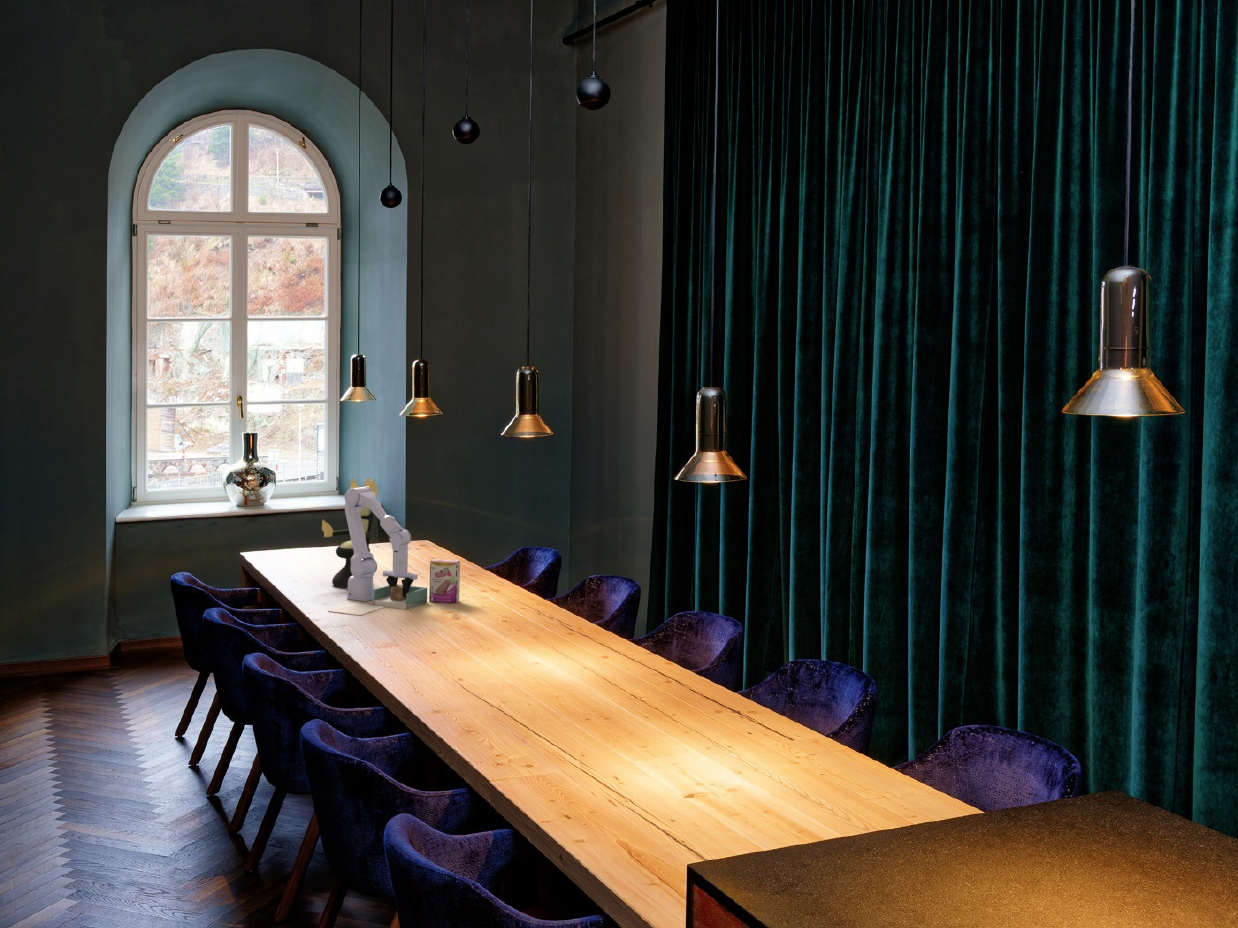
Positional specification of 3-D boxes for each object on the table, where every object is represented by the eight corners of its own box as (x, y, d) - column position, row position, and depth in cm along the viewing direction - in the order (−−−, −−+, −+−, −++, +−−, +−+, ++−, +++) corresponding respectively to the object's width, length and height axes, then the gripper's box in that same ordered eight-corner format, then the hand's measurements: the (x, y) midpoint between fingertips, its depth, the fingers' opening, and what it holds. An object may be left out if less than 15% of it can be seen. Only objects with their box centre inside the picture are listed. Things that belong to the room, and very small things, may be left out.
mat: (328, 611, 444) (328, 610, 444) (353, 603, 459) (353, 602, 459) (359, 615, 439) (359, 614, 439) (384, 607, 454) (384, 606, 454)
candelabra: (319, 586, 491) (320, 477, 487) (351, 577, 512) (352, 473, 508) (358, 591, 484) (359, 480, 480) (388, 582, 505) (390, 476, 500)
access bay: (373, 605, 458) (373, 589, 458) (392, 598, 471) (393, 583, 470) (408, 609, 452) (408, 593, 452) (427, 602, 465) (427, 587, 465)
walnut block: (390, 599, 459) (390, 587, 459) (399, 597, 465) (399, 584, 464) (400, 601, 457) (400, 588, 457) (408, 598, 463) (409, 585, 463)
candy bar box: (428, 602, 466) (429, 560, 465) (432, 599, 471) (432, 558, 470) (456, 603, 465) (457, 562, 464) (459, 601, 470) (460, 560, 469)
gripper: (378, 561, 459) (378, 596, 460) (410, 564, 453) (410, 599, 455) (388, 558, 465) (388, 592, 466) (420, 562, 460) (420, 596, 461)
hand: (399, 596), depth 461 cm, fingers closed on walnut block, 4 cm apart
